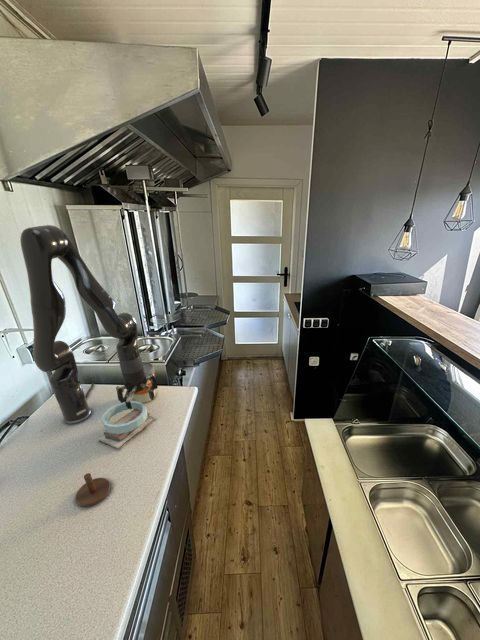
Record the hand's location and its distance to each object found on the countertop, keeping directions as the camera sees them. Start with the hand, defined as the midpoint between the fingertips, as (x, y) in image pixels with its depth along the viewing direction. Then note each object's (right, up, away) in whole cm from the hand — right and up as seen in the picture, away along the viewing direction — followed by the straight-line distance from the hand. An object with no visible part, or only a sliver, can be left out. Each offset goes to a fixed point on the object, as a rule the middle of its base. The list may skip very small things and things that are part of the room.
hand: (141, 403), depth 112 cm
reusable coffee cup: (-6, -1, +19) cm, 21 cm away
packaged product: (-5, -10, 0) cm, 11 cm away
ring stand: (-4, -22, -25) cm, 34 cm away
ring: (-5, -6, -2) cm, 8 cm away
